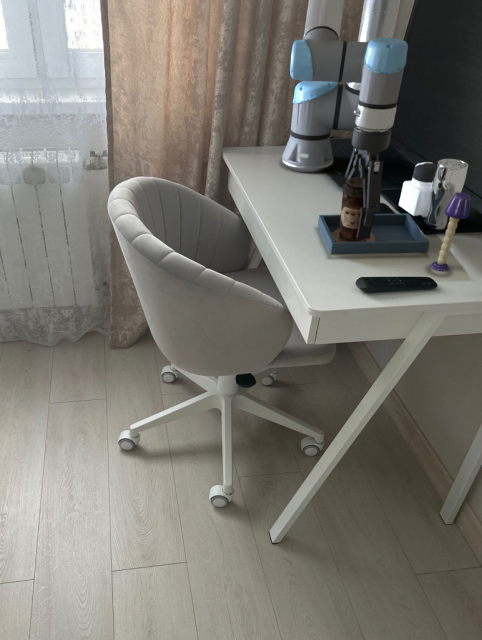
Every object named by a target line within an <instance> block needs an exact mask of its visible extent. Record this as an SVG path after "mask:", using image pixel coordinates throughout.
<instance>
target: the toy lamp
mask: <svg viewBox="0 0 482 640" xmlns="http://www.w3.org/2000/svg"><path fill="white" fill-rule="evenodd" d="M470 211H471V195H470V194H468V193H466V192H461V193H455V194H454V196H453V197H452V199H451V201H450V202H449V204H448V206H447V207H446V209H445V214H446V215H447V216H449V217H450V222H449V223H448V229H447V230H445V233H444V234H445V235H444V236H443V240H442V244H441V246H440V251H439V253H438V254H439V256H438V257H437V260H436V261H433V262H432V263H430V265H429V266H430V268H431V270H434V271H436V272H441V273H442V272H447V271H449V270H450V267H449V265H448V264H447V263H446V262H447V260H448V258H447V257H448V256H449V253H450V249H451V247H452V243H453V241H454V236H455V234H456V229H457V228H458V222H459V221H460V220H461V219H463V220H464V219H467V218H469V216H470Z"/></svg>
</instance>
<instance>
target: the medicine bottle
mask: <svg viewBox="0 0 482 640" xmlns="http://www.w3.org/2000/svg"><path fill="white" fill-rule="evenodd" d="M437 164H438V163H434V162H430V161H424V162H419V163H417V164H416V165H415V167H414V171H413V175H412V177H411V178H412V179H411V180H405V181H404V182H403V183H402V187H401V193H400V198H399V202H398V206H399V207H400V208H401V209H403V210H405V211H406V213H409V215H412V216H413V217H417V216H421V217H422V218H425V217H426V215H427V213H428V209H429V203H430V190H431V184H432V179H433V176H434V173H435V170H436V167H437Z"/></svg>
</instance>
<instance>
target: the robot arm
mask: <svg viewBox="0 0 482 640" xmlns="http://www.w3.org/2000/svg"><path fill="white" fill-rule="evenodd" d="M344 5H345V0H308V3H307V10H306V19H305V25H304V33H303V38H301V39H296V40H294V41H293V43H292V47H291V56H290V68H289V75H290V77H291V78H292V80H294V81H295V80H296V81H300V82H298V83H297V84H296V86H295V88H294V94H293V99H292V114H291V123H290V133H289V134H290V135H289V139H288V141H287V143H286V146H285V149H284V150H283V153H282V157H281V165H282V166H283V167H284V168H286V169H289V170H290V171H294V172H298V173H311V174H313V173H321V172H325V171H328V170H330V169H331V168H332V167H333V164H334V154H333V149H332V144H331V133H332V130H334V131H350V132H353V133H352V138H351V146H352V147H353V150H352V153H351V157H350V160H349V163H348V165H347V168H346V171H345V174H344V177H345V179H346V181H347V180H348V179H352V178H355V177H360V178H361V179H362V180H363V204H364V208H361V209H360V211H361V215H360V221H359V226H358V232H357V239H370V234H371V229H372V224H373V219H374V214H376V213H379V212H380V210H381V194H382V177H383V176H382V174H383V169H384V161H383V160H380V157H379V153H380V152H382V151H385V150H387V149H388V148H389V146H390V142H391V136H392V129H391V128H392V127H393V126H394V122H395V117H396V113H397V107H398V99H399V94H400V89H401V84H402V81H403V75H404V71H405V66H406V64H407V55H408V48H409V46H408V45H409V44H408V42H407V41H405V40H404V39H400V38H395V37H394V34H395V29H396V23H397V21H398V20H397V19H398V15H399V10H400V5H401V0H363V4H362V5H363V6H362V13H361V19H360V26H359V32H358V39H357V41H353V40H352V41H349V40H340V37H341V36H340V35H341V27H342V19H343V12H344V11H343V10H344ZM339 83H344V84H339Z"/></svg>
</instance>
